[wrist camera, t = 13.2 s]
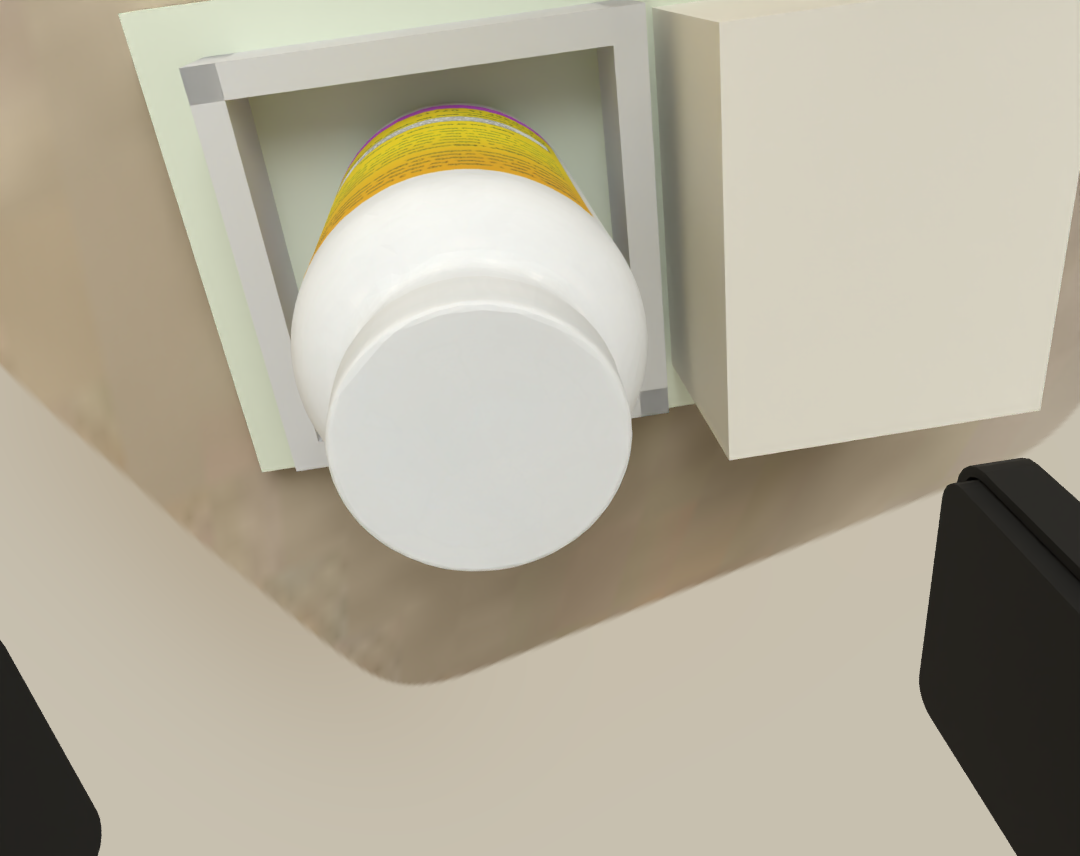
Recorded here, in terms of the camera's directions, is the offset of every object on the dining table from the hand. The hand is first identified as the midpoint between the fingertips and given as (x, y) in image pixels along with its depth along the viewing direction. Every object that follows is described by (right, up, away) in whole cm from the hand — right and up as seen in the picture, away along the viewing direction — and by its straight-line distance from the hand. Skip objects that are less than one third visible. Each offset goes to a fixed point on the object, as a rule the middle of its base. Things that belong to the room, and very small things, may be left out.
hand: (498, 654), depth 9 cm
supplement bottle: (-2, +8, +16) cm, 18 cm away
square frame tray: (+2, +9, +17) cm, 20 cm away
